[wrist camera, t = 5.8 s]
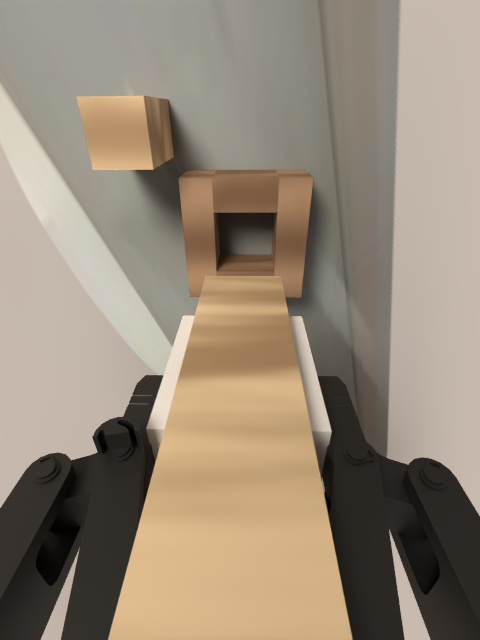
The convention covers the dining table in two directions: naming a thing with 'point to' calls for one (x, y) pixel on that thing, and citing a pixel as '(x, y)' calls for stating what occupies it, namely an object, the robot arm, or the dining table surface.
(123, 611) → the long oak peg
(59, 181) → the dining table surface
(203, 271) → the walnut hole block
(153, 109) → the short oak peg
